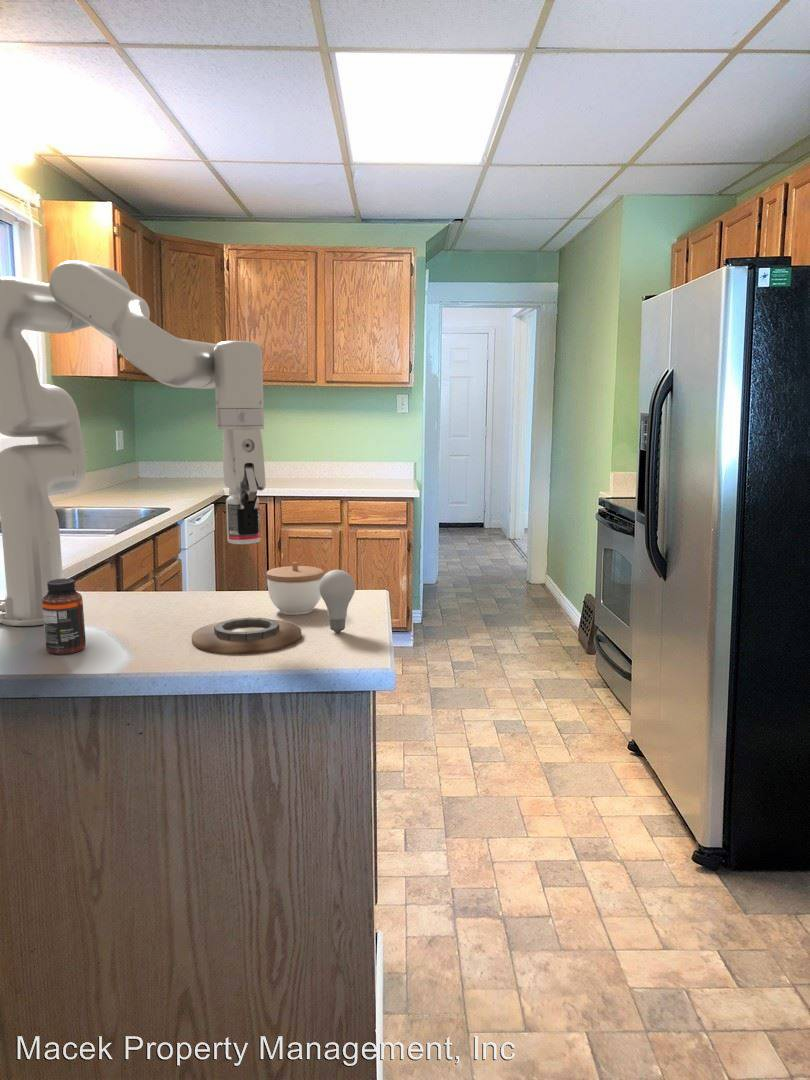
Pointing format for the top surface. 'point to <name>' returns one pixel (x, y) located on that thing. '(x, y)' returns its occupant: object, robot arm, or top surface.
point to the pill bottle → (232, 521)
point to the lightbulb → (337, 596)
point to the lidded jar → (294, 588)
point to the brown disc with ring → (246, 636)
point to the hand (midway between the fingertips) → (243, 530)
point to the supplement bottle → (63, 618)
